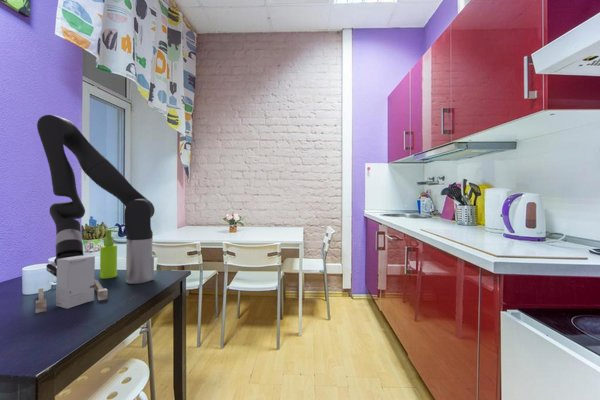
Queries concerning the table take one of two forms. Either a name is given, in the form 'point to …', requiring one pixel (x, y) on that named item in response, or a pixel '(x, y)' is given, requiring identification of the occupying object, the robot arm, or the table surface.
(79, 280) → the skincare box
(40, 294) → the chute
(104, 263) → the soap dispenser
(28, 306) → the table surface
